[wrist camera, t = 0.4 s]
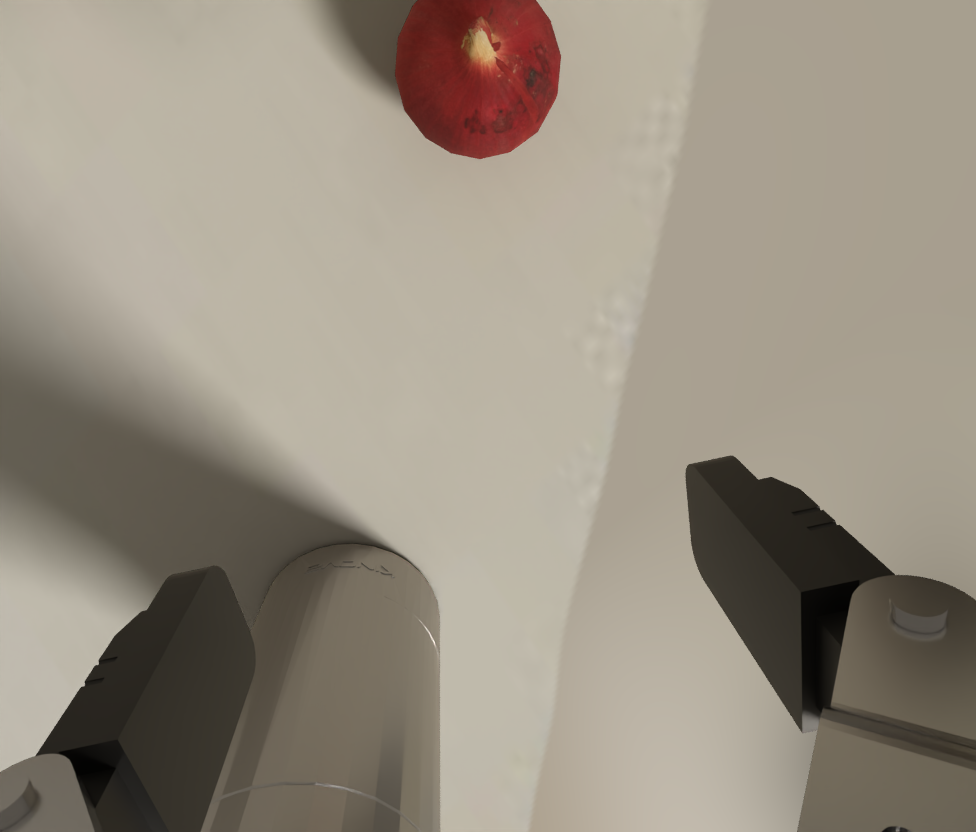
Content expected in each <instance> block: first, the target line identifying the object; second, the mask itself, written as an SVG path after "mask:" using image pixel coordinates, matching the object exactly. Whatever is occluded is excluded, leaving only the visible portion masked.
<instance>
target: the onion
mask: <svg viewBox="0 0 976 832" xmlns="http://www.w3.org/2000/svg"><path fill="white" fill-rule="evenodd" d="M560 61H561V55H560V51H559V48H558V44H557V41H556V38H555V34H554V31H553V28H552V24H551V21H550V19H549V18H548V16H547V15H546V14H545V12H544V11H543V9H542V8H541V7H540V5H539V4H538V2H537V1H536V0H418V1H417V2H416V3H415V4H414V5H413V6H412V8H411V11H410V13H409V15H408V17H407V19H406V22H405V24H404V26H403V28H402V30H401V33H400V35H399V37H398V43H397V56H396V69H395V77H396V81H397V84H398V88H399V92H400V95H401V99H402V103H403V106H404V110H405V112H406V113H407V114H408V116H409V117H410V118H411V120H412V121H413V122H414V123H415V125H416V126H417V127H418V129H419V130H420V131H421V133H422V134H423V135H424V136H425V138H427V139H429V140H430V141H432V142H434V143H435V144H437V145H439V146H440V147H442V148H444V149H445V150H447V151H449V152H450V153H453V154H458V155H463V156H468V157H473V158H477V159H482V158H486V157H491V156H495V155H499V154H504V153H508V152H511V151H512V150H514V149H515V148H516V147H518V146H519V145H520V144H522V143H523V142H524V141H526V140H527V139H529V138H530V137H531V136H533V135H534V134H535V133H537V132H538V130H539V128H540V127H541V125H542V123H543V121H544V119H545V118H546V116H547V114H548V112H549V110H550V108H551V107H552V105H553V103H554V101H555V99H556V96H557V93H558V82H559V72H560Z"/></svg>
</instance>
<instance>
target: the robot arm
mask: <svg viewBox="0 0 976 832" xmlns="http://www.w3.org/2000/svg"><path fill="white" fill-rule="evenodd" d="M686 488H687V499H688V511H689V522H690V534H691V544H692V549H693V554H694V558H695V561H696V564H697V567H698V570H699V572H700V574H701V576H702V578H703V580H704V581H705V583H706V584H707V586H708V587H709V589H710V591H711V592H712V594H713V595H714V597H715V598H716V600H717V601H718V603H719V605H720V606H721V608H722V609H723V611H724V612H725V614H726V615H727V617H728V619H729V620H730V622H731V623H732V625H733V626H734V628H735V629H736V631H737V633H738V634H739V636H740V637H741V639H742V640H743V641H744V643H745V645H746V646H747V648H748V650H749V651H750V652H751V654H752V656H753V657H754V659H755V660H756V662H757V663H758V665H759V667H760V668H761V670H762V671H763V673H764V674H765V676H766V678H767V679H768V681H769V682H770V684H771V685H772V687H773V688H774V690H775V691H776V693H777V695H778V696H779V698H780V699H781V701H782V702H783V704H784V705H785V707H786V709H787V710H788V712H789V713H790V715H791V716H792V717H793V719H794V721H795V723H796V724H797V726H798V727H799V729H800V730H801V732H802V733H806V732H811V731H816V730H817V735H816V740H815V745H814V750H813V755H812V761H811V765H810V770H809V775H808V780H807V785H806V791H805V795H804V800H803V805H802V810H801V815H800V820H799V825H798V830H797V832H976V600H975V599H974V598H972V597H971V596H969V595H968V594H966V593H965V592H963V591H961V590H959V589H957V588H955V587H953V586H950V585H948V584H946V583H943V582H940V581H936V580H933V579H928V578H924V577H919V576H909V575H895V574H894V573H893V572H892V571H890V570H889V569H888V568H887V567H886V566H885V565H884V564H883V563H882V562H880V561H879V560H878V559H877V558H876V557H875V556H874V555H873V554H872V553H870V552H869V551H868V550H867V549H866V548H865V547H864V546H863V545H861V544H860V543H859V542H858V541H857V540H856V539H855V538H854V537H853V536H852V535H850V534H849V533H848V532H847V531H846V530H845V529H844V528H843V527H842V526H840V525H836V522H835V520H834V519H833V518H832V517H830V516H829V515H828V514H827V513H826V512H825V511H824V510H820V508H819V506H818V505H817V504H816V503H815V502H814V501H813V500H811V499H810V498H809V497H808V496H807V495H806V494H805V493H804V492H803V491H801V490H800V489H799V488H796V487H794V486H791V485H789V484H787V483H784V482H782V481H779V480H777V479H775V478H773V477H769V478H764V479H760V480H758V479H757V478H756V477H755V476H754V475H753V474H752V473H751V472H750V471H749V470H748V469H747V468H746V467H745V466H744V465H743V464H742V463H741V462H740V461H739V460H738V459H737V458H735V457H734V456H726V457H722V458H717V459H712V460H708V461H703V462H698V463H693V464H689V465H688V466H687V468H686ZM0 832H440V616H439V609H438V602H437V600H436V597H435V595H434V592H433V590H432V588H431V586H430V585H429V583H428V582H427V580H426V579H425V578H424V576H423V575H422V573H420V572H419V571H418V570H417V569H416V568H415V567H414V566H413V565H411V564H410V563H409V562H408V561H406V560H404V559H403V558H401V557H399V556H397V555H396V554H394V553H392V552H389V551H386V550H383V549H380V548H377V547H374V546H367V545H360V544H339V545H332V546H328V547H323V548H319V549H316V550H314V551H311V552H309V553H307V554H305V555H302V556H300V557H299V558H297V559H296V560H295V561H293V562H292V563H290V564H289V565H288V566H286V567H285V568H284V569H283V570H282V572H281V573H280V574H279V575H278V576H277V577H276V578H275V580H274V581H273V583H272V585H271V587H270V589H269V591H268V593H267V594H266V597H265V599H264V601H263V604H262V606H261V609H260V611H259V613H258V616H257V618H256V621H255V623H254V625H253V628H252V630H251V632H250V630H249V628H248V626H247V623H246V621H245V618H244V616H243V614H242V611H241V609H240V606H239V604H238V602H237V599H236V597H235V594H234V592H233V590H232V587H231V585H230V582H229V580H228V578H227V576H226V574H225V572H224V571H223V570H222V569H221V568H220V567H218V566H211V567H206V568H202V569H197V570H192V571H188V572H183V573H178V574H173V575H171V576H169V577H168V578H167V579H166V581H165V582H164V584H163V585H162V587H161V589H160V590H159V592H158V593H157V595H156V597H155V598H154V600H153V601H152V603H151V604H150V606H149V608H148V609H147V610H146V611H142V612H140V613H139V614H138V615H137V616H136V617H135V618H134V619H133V620H132V621H131V622H129V623H128V624H127V625H126V626H125V627H124V628H123V629H122V630H121V631H119V632H118V633H117V634H116V635H115V636H114V638H113V639H112V641H111V642H110V644H109V645H108V647H107V648H106V650H105V651H104V653H103V655H102V656H101V658H100V659H99V665H96V666H95V667H94V668H93V670H92V671H91V673H90V674H89V676H88V677H87V679H86V680H85V686H84V687H81V688H80V689H79V691H78V692H77V694H76V695H75V697H74V698H73V700H72V701H71V703H70V705H69V706H68V708H67V709H66V711H65V712H64V714H63V715H62V717H61V718H60V720H59V721H58V723H57V724H56V726H55V727H54V729H53V730H52V732H51V733H50V735H49V736H48V738H47V739H46V741H45V742H44V744H43V745H42V747H41V748H40V750H39V751H38V753H37V754H36V756H35V757H31V758H29V759H26V760H23V761H21V762H19V763H17V764H14V765H12V766H10V767H9V768H7V769H5V770H3V771H1V772H0Z"/></svg>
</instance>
